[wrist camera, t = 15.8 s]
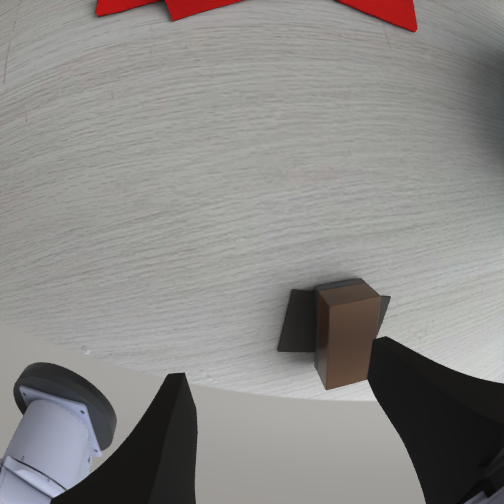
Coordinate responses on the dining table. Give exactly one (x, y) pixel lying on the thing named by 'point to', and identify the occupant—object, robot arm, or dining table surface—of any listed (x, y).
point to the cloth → (189, 3)
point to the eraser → (344, 331)
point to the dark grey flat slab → (308, 322)
